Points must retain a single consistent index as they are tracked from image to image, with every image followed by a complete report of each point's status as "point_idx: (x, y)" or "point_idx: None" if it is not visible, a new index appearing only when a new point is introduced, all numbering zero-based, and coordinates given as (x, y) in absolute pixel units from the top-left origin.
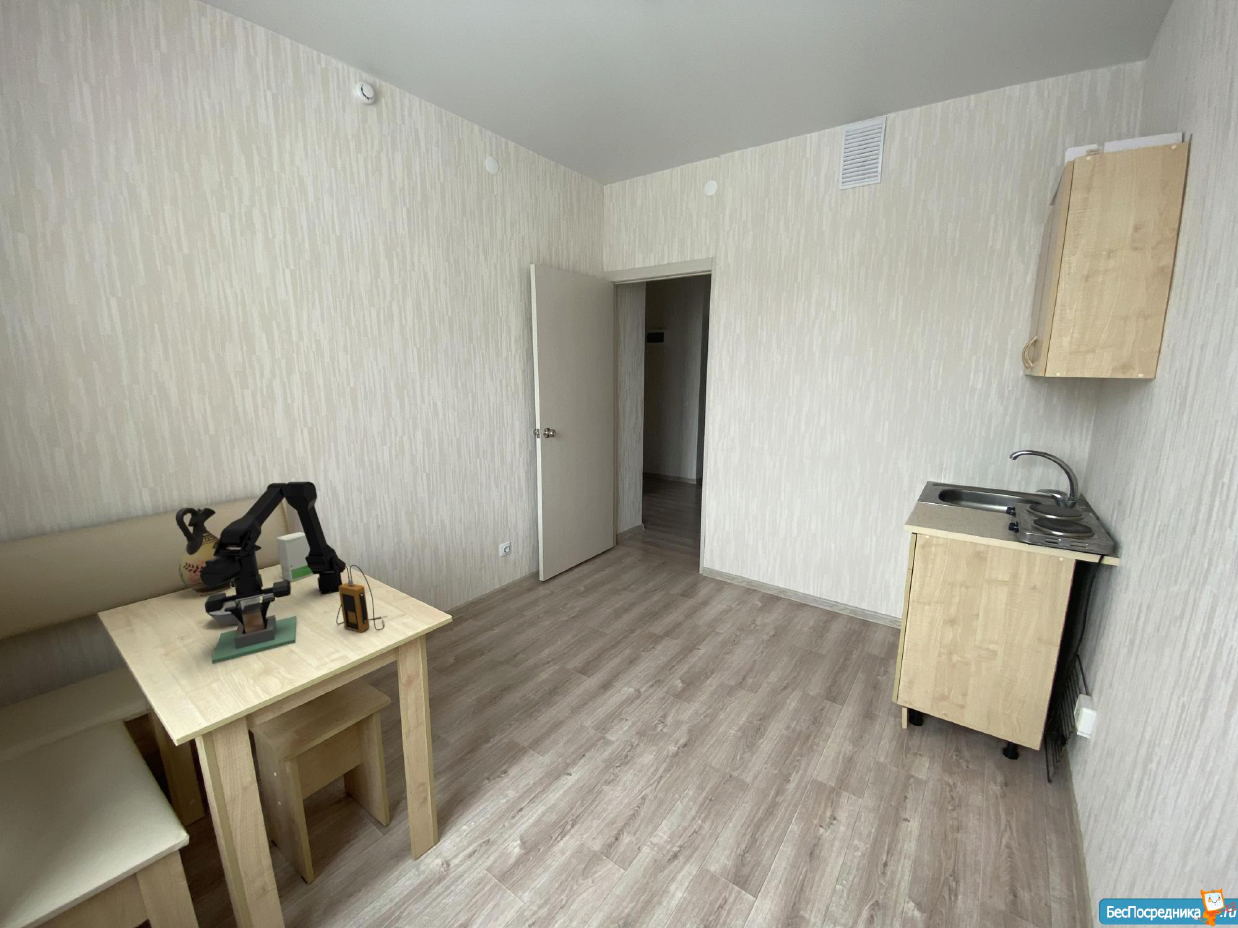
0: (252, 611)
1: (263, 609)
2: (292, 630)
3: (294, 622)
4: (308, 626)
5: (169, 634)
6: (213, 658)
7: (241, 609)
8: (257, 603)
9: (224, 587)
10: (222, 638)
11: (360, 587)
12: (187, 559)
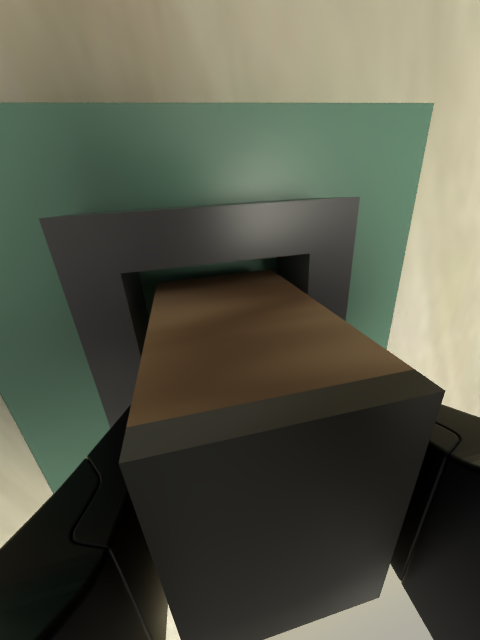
0: (304, 620)
1: (397, 548)
2: (377, 336)
3: (402, 231)
4: (432, 279)
5: None
6: (55, 485)
7: (129, 580)
8: (374, 427)
9: None
10: None
11: None
12: None
